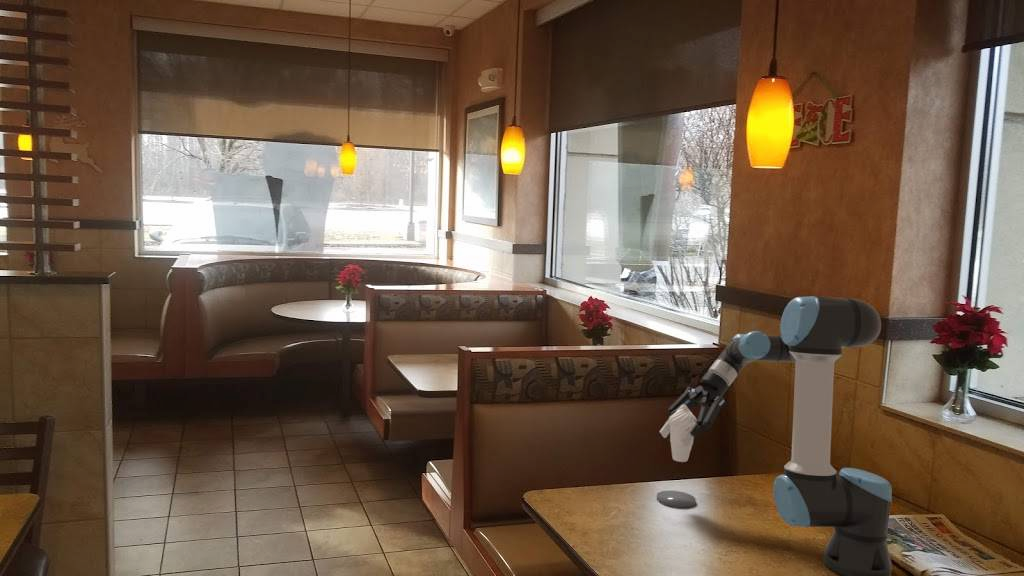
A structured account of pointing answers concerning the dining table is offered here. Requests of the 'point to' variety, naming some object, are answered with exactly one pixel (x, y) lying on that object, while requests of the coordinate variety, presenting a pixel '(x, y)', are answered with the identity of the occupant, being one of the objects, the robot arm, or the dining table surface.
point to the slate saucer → (676, 499)
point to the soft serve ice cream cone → (680, 433)
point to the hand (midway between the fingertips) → (672, 439)
